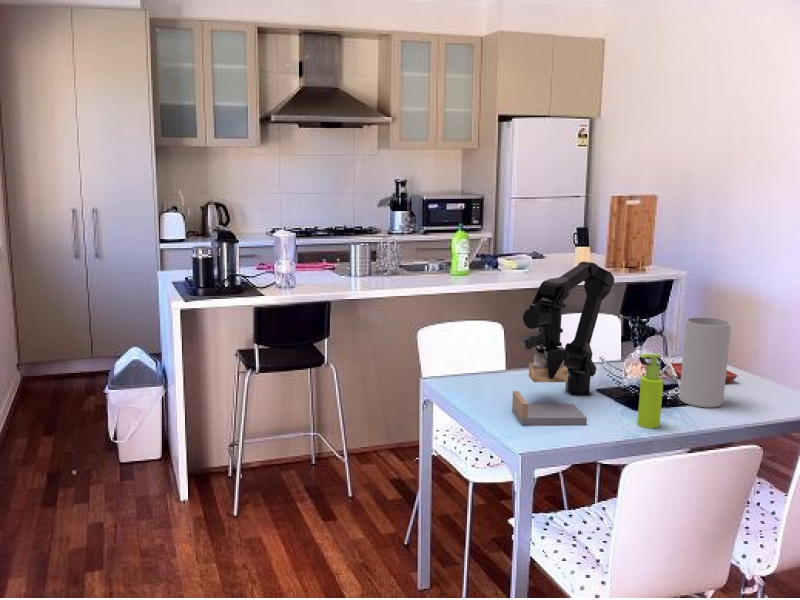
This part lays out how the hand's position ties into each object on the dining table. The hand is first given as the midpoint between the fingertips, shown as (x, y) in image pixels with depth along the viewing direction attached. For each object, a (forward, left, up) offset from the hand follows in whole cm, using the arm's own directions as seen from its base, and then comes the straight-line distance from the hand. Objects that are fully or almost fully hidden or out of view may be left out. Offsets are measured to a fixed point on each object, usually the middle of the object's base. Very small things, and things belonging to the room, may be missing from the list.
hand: (548, 375), depth 229 cm
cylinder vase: (-48, -1, -9) cm, 49 cm away
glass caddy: (0, 0, -1) cm, 1 cm away
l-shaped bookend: (+3, +13, -8) cm, 16 cm away
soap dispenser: (-23, +19, -9) cm, 31 cm away
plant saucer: (-60, -28, -9) cm, 67 cm away
